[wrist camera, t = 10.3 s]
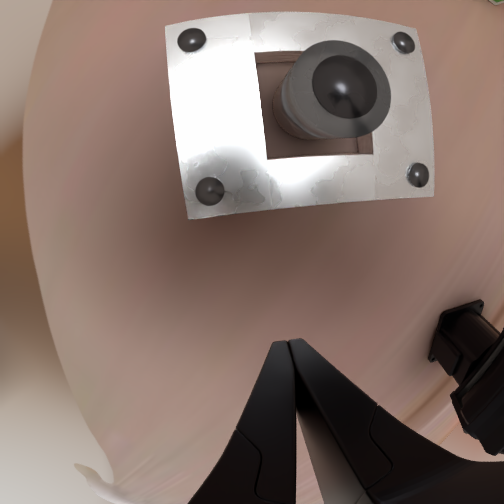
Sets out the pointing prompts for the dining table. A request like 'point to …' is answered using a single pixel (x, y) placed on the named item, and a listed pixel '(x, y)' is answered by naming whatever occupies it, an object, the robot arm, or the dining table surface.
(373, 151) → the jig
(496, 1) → the skincare box
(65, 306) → the dining table surface
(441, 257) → the dining table surface
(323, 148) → the dining table surface
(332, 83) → the cylinder
